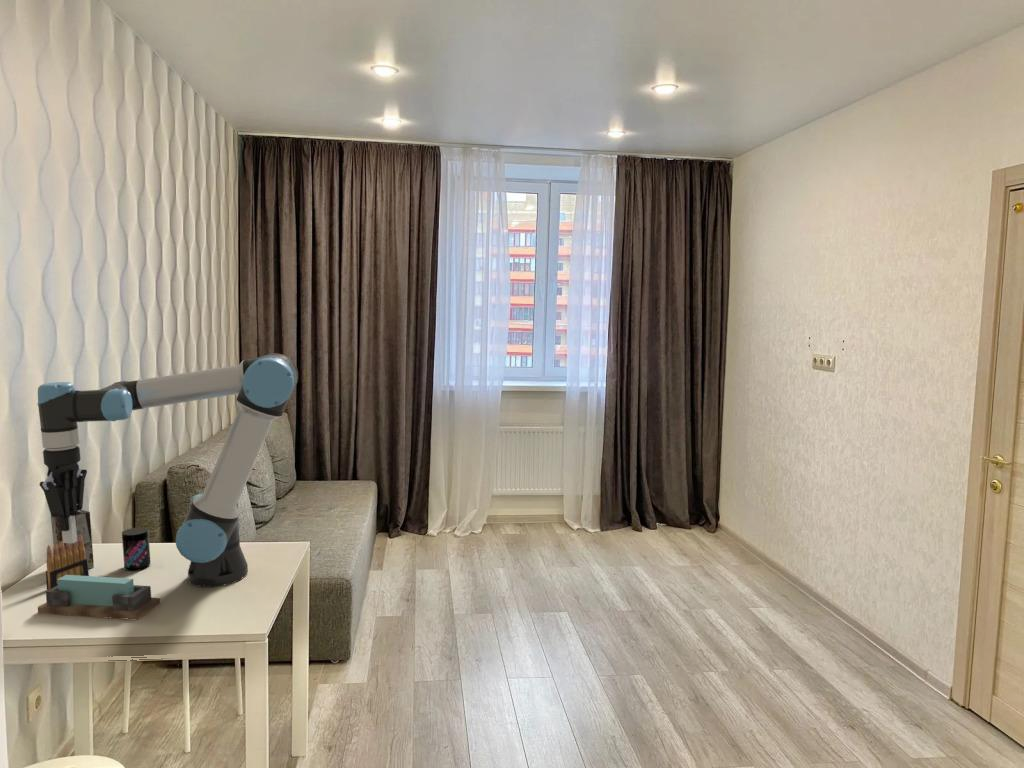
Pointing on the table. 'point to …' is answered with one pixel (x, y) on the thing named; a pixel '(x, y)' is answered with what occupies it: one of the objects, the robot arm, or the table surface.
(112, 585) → the slat
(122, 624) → the table surface
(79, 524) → the coffee box
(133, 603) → the frame
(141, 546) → the supplement container
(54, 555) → the ammunition clip
